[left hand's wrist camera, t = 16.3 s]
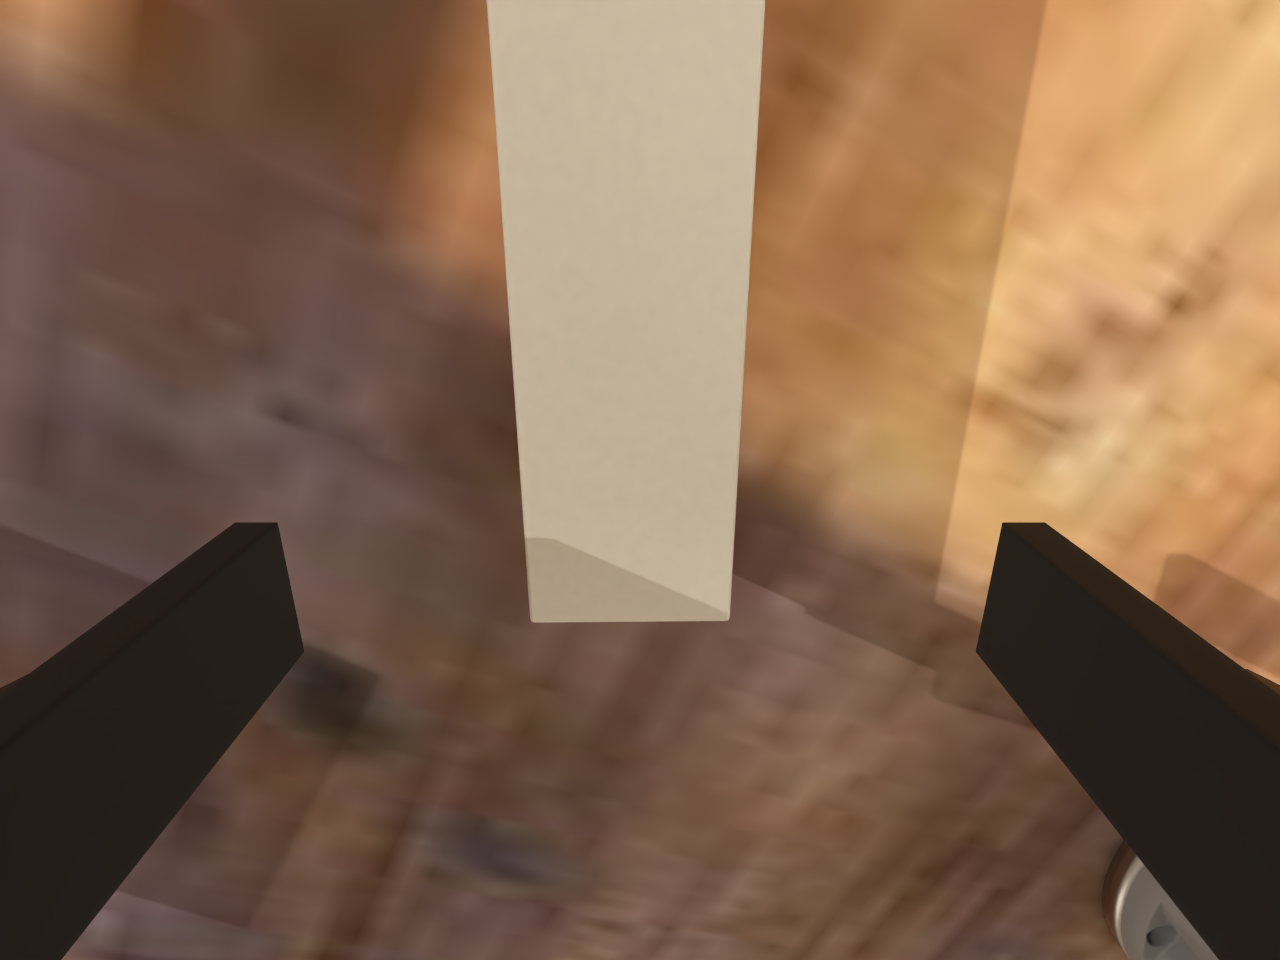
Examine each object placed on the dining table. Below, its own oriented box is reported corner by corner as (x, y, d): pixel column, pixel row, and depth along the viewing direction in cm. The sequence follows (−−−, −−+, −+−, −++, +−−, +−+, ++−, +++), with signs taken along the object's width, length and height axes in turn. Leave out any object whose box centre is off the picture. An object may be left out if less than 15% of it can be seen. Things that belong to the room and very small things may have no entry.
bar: (699, 496, 25) (729, 622, 17) (560, 497, 25) (530, 624, 17) (741, -694, 14) (863, -1667, 7) (503, -697, 14) (364, -1687, 7)
